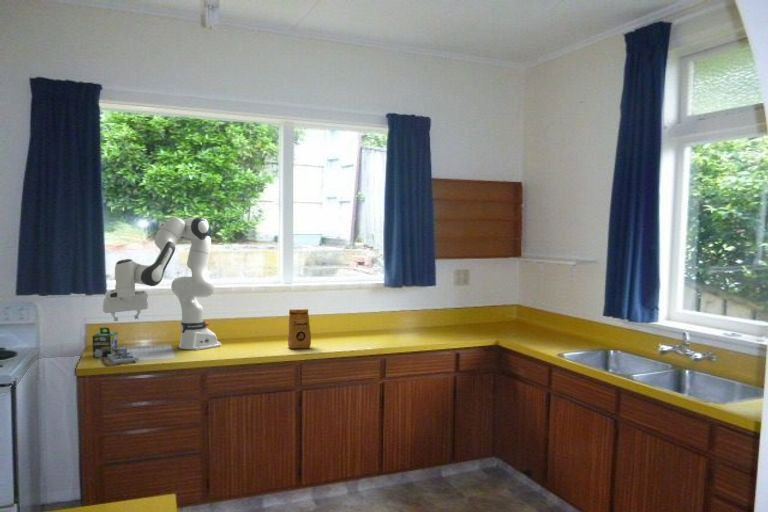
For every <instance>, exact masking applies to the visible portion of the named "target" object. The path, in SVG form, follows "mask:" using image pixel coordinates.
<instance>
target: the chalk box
mask: <svg viewBox="0 0 768 512" xmlns="http://www.w3.org/2000/svg"><path fill="white" fill-rule="evenodd" d="M104 330H105V331H104ZM91 337H92V358H93V357H94V358H102V357H107V354H115V352H113V349H116V348H119V338H118V337H119V336H118V331H110V327H106V326H104V327H99V332H98V333H95V334H93V335H92V336H91Z"/></svg>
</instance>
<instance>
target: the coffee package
mask: <svg viewBox="0 0 768 512" xmlns="http://www.w3.org/2000/svg"><path fill="white" fill-rule="evenodd" d="M288 314H289V317H288V337H287V338H288V339H287V343H288V344H287V346H288V348H289V349H292V350H293V349H295V350H296V349H298V350H299V349H302V350H303V349H310V347H311V344H312V335H311V334H312V333H311V325H310V317H309V308H302V309H289V311H288Z"/></svg>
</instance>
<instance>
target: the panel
mask: <svg viewBox="0 0 768 512" xmlns="http://www.w3.org/2000/svg"><path fill="white" fill-rule="evenodd" d="M118 348H119V351H118V352H120V351H122V352H123V354H122V359H118V355H117V356H115V354H107V357H108V358H109V359H110V360H111V361H112V362H113V363H119V362H127V361H135V362H136V361H139V356H137V355H135V353H134V352H132V351H128V348H127V347H126V346H121V347H118Z"/></svg>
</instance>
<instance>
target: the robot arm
mask: <svg viewBox="0 0 768 512" xmlns="http://www.w3.org/2000/svg"><path fill="white" fill-rule="evenodd" d="M209 235H210V224H209V222H208V220H207V219H206V218H204V217H188V218H180V217H177V216H173V217H170V218H168V220H167V221H166V222H164V224H162V226H161V227H160V228H159V230H158V231H157V233H156V234H155V237H154V239H153V240H154V244H155V246H156V247H157V248H158V250H160V252H159V253H158V255H157V257H156V259H155V260H154V262H153V263H152V264H151V265H144V264H140V263H137V262H135V261H134V260H133V259H131V258H127V259H121V260H118V261H117V262H116V264H115V267H114V279H115V286H114V287H115V288H114V289H111V290H109V291H106V292H105V293H104V296H105V298H104V299H103V303H102V311H103V313H105V314H110V315H111V316H112V317H113V321H114V322H118V321H119V317H117V316H115V315H116V313H121V312H130V311H133V312H134V311H136V312H137V313H136V314H135V315H134V314H133V315H134V317H133V318H134V320H139V315H140V314H141V312H142V311H143V310H147V309H148V308H149V304H148V303H149V302H148V299H149V298H148V297H149V295H148V292H147V291H145V290H141V291H137V290H136V284H140V285H145V286H150V287H156V286H157V285H159V284H161V282H162V280H163V277H164V273H165V271H166V268H167V267H168V265H169V263H170V262H171V259H172V258H173V256H174V254H175V251H176V246H177V243H178V242H179V241H180V239H181V238H182V239H190V244H191V245H190V248H189V252H188V257H187V261H186V262H187V263H186V265H187V267H188V269H190V271H191V276H178V277H175V278H174V279H173V280H172V282H171V285H170V286H171V291H172V293H173V294H174V295H175V296H176V298H177V299H178V301H179V304H180V306H181V323H180V332H181V333H180V334H181V337H180V342H179V345H178V348H179V349H180V350H181V349H182V350H193V351H200V350H205V349H212V348H218V347H221V346H222V342H220V341H218V337H217V335H216V333H215V332H213V331H212V330H211V329H209V328H207V327H209V326H210V323H209V322H208V321H204V308H203V306H202V304H200V302H198V299H197V298H208V297H210V296H212V294H213V293H214V291H215V285H214V284H215V283H214V282H213V281H212V279H211V278H210V276H209V271H208V269H209V261H210V256H211V250H212V249H211V248H212V239H211V237H210V236H209Z"/></svg>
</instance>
